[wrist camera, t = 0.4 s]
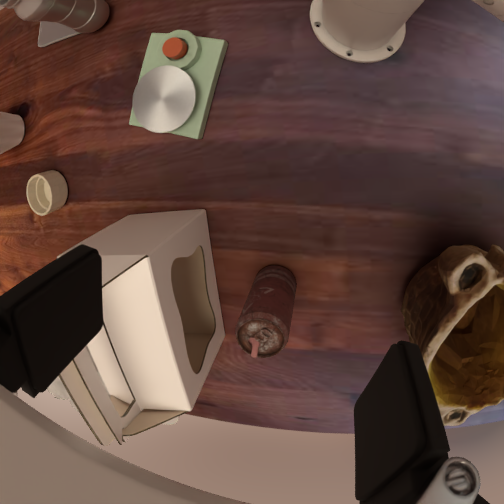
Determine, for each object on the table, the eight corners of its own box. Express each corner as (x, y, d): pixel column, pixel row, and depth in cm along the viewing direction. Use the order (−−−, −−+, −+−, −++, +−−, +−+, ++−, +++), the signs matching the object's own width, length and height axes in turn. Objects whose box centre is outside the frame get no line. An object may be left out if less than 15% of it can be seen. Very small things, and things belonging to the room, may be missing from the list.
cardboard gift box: (225, 336, 53) (163, 477, 27) (157, 331, 56) (75, 446, 30) (205, 206, 45) (79, 309, 19) (128, 213, 48) (-10, 296, 22)
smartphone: (98, 26, 36) (37, 48, 38) (101, 27, 37) (40, 48, 39) (103, -11, 33) (41, 14, 35) (106, -10, 34) (45, 15, 36)
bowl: (44, 166, 48) (27, 171, 43) (70, 173, 47) (52, 179, 43) (42, 202, 51) (26, 209, 46) (68, 212, 50) (51, 220, 46)
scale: (158, 33, 36) (146, 27, 33) (229, 41, 35) (222, 34, 32) (135, 124, 42) (122, 124, 39) (202, 138, 41) (193, 140, 38)
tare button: (171, 39, 34) (165, 36, 32) (190, 41, 33) (185, 38, 32) (165, 58, 35) (159, 56, 33) (184, 60, 35) (179, 58, 33)
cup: (1, 146, 48) (-32, 154, 40) (10, 101, 44) (-25, 104, 36) (25, 161, 48) (-10, 170, 40) (36, 111, 44) (-1, 115, 36)
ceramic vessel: (313, 343, 40) (465, 382, 16) (399, 214, 46) (530, 163, 22) (405, 418, 42) (527, 462, 18) (468, 301, 49) (582, 292, 24)
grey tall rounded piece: (109, 33, 37) (15, 10, 19) (79, 37, 37) (-13, 22, 19) (118, -1, 34) (31, -37, 16) (87, 4, 35) (1, -22, 17)
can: (254, 298, 49) (232, 357, 36) (257, 261, 46) (234, 313, 34) (293, 304, 48) (283, 365, 35) (299, 266, 46) (291, 322, 33)
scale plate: (142, 62, 35) (141, 62, 35) (204, 70, 34) (203, 70, 34) (127, 126, 39) (126, 126, 39) (186, 139, 38) (185, 139, 38)
